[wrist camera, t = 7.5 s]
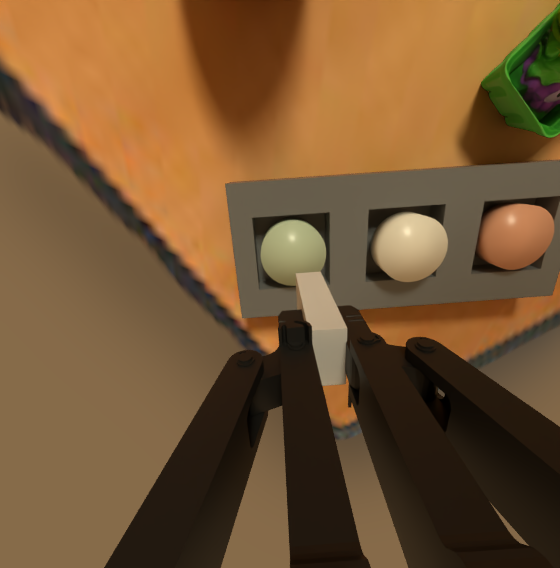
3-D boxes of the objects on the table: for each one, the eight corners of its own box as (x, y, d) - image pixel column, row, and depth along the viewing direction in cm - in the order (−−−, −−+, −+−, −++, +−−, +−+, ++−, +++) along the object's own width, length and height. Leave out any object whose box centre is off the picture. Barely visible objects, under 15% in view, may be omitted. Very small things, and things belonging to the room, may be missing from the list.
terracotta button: (476, 204, 28) (495, 207, 25) (538, 200, 28) (562, 202, 26) (465, 264, 30) (482, 271, 28) (523, 259, 30) (544, 267, 28)
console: (230, 182, 28) (225, 183, 25) (551, 159, 29) (594, 158, 25) (245, 301, 33) (242, 318, 29) (520, 281, 33) (552, 295, 30)
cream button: (372, 214, 27) (382, 218, 24) (436, 209, 27) (452, 213, 24) (368, 275, 29) (377, 284, 26) (428, 270, 29) (442, 279, 26)
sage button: (258, 220, 28) (257, 224, 25) (321, 215, 28) (326, 219, 25) (263, 278, 30) (263, 287, 27) (322, 274, 30) (326, 283, 27)
